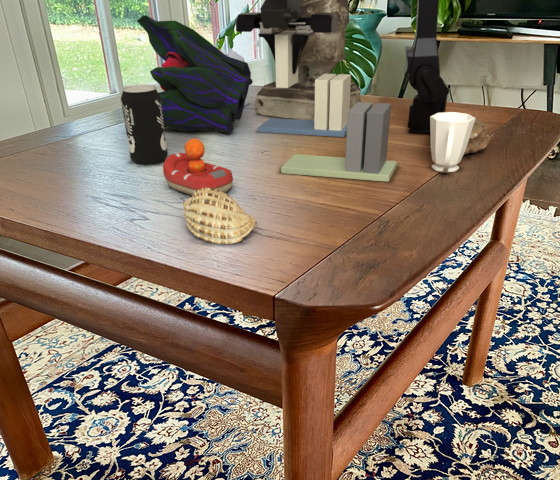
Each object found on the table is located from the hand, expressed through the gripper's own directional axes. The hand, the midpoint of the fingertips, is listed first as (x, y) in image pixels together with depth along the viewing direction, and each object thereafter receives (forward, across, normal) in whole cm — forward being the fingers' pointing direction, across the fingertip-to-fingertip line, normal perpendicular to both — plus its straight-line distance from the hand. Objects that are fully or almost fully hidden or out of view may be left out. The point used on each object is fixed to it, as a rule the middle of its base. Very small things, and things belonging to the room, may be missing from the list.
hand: (287, 73), depth 114 cm
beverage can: (+11, -17, -28) cm, 34 cm away
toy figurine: (+11, -19, +20) cm, 29 cm away
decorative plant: (+11, -21, -4) cm, 24 cm away
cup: (+11, +34, -21) cm, 41 cm away
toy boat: (+11, -2, -40) cm, 41 cm away
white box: (+2, 0, 0) cm, 2 cm away
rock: (+11, +35, -8) cm, 37 cm away
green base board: (+10, +17, -25) cm, 32 cm away
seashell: (+11, +8, -55) cm, 56 cm away
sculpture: (+11, 0, +16) cm, 20 cm away
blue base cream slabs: (+10, +4, 0) cm, 11 cm away
